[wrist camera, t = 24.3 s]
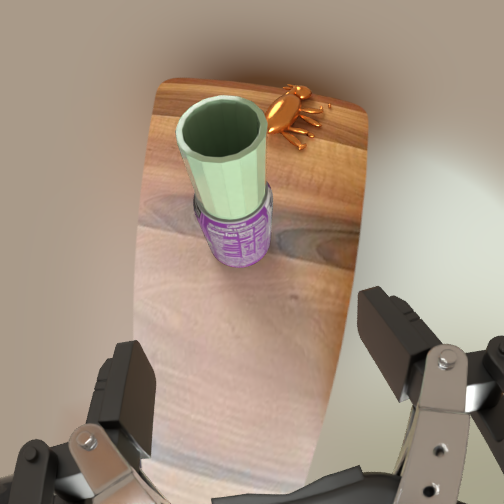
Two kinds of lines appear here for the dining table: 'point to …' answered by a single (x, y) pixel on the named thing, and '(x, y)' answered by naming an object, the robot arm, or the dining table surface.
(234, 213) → the cup
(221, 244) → the beverage can
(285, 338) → the dining table surface
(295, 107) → the figurine
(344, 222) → the dining table surface
